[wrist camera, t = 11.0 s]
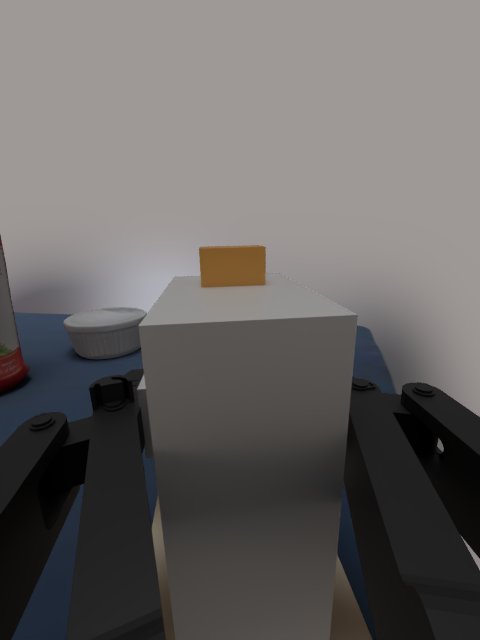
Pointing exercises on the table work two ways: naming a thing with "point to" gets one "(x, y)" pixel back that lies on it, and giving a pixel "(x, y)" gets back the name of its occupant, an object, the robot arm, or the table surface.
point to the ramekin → (105, 332)
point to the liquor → (9, 336)
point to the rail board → (347, 618)
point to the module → (248, 446)
